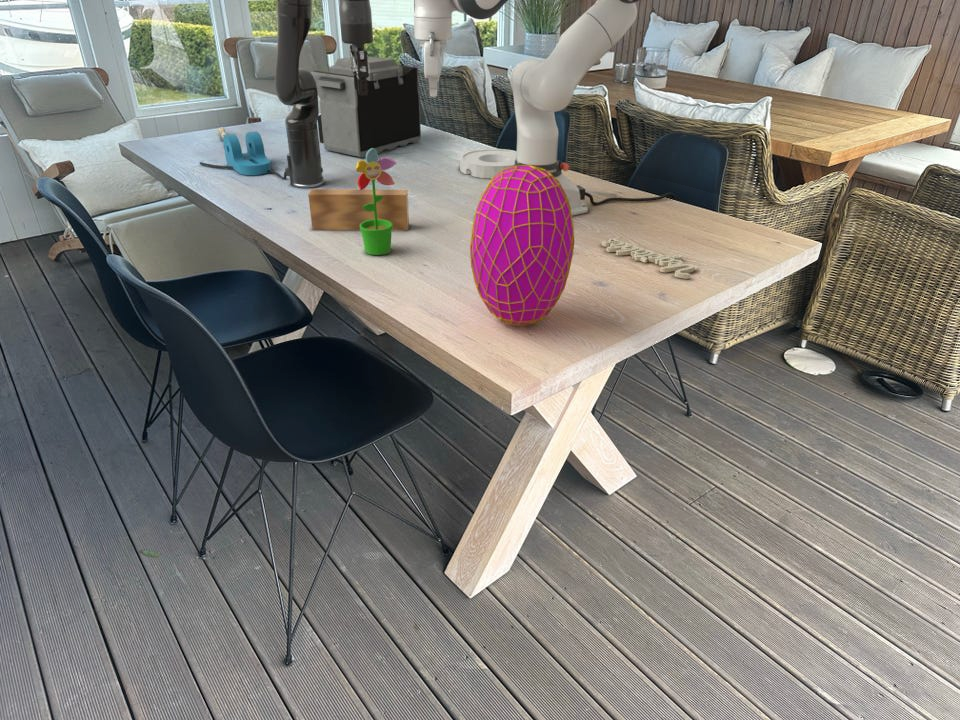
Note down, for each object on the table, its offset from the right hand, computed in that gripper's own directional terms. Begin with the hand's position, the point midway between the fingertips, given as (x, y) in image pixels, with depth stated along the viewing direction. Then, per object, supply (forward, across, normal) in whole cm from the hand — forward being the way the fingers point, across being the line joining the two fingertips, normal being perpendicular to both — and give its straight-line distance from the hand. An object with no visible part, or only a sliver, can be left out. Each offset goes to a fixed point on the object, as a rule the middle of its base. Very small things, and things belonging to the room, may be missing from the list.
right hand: (434, 92), depth 168 cm
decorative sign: (+33, -25, -52) cm, 66 cm away
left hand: (+1, +5, +19) cm, 19 cm away
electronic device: (+33, +85, +28) cm, 96 cm away
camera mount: (+33, +53, +64) cm, 89 cm away
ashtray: (+33, +54, -17) cm, 65 cm away
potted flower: (+33, -21, +13) cm, 41 cm away
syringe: (+33, +94, +85) cm, 131 cm away
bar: (+33, -4, +20) cm, 39 cm away
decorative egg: (+33, -58, -18) cm, 69 cm away
